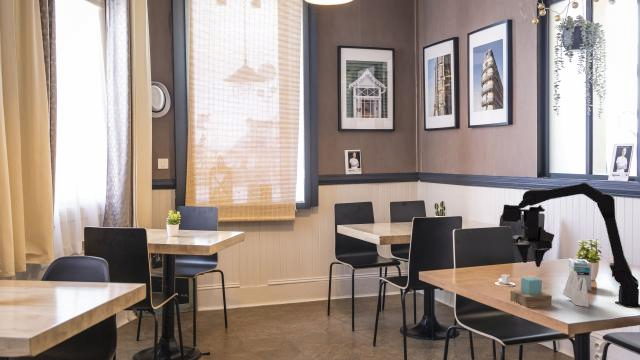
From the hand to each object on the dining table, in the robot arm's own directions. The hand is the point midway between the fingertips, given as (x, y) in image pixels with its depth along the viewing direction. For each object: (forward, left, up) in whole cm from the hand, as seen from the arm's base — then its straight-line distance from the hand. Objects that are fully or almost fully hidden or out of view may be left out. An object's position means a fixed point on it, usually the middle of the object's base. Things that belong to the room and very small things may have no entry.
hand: (531, 264), depth 232 cm
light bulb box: (+9, -26, -12) cm, 30 cm away
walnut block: (-12, +7, -12) cm, 18 cm away
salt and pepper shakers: (-13, -10, -12) cm, 20 cm away
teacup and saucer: (+21, -3, -12) cm, 24 cm away
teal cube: (-12, +7, -8) cm, 15 cm away
